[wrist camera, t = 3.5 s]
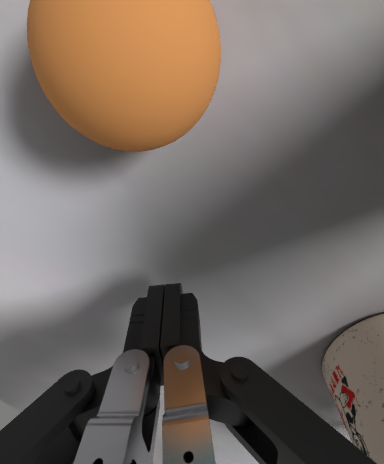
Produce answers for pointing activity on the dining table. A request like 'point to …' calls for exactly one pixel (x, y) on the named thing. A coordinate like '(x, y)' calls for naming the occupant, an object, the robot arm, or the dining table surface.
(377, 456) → the teacup with lid
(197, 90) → the ball
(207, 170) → the dining table surface
